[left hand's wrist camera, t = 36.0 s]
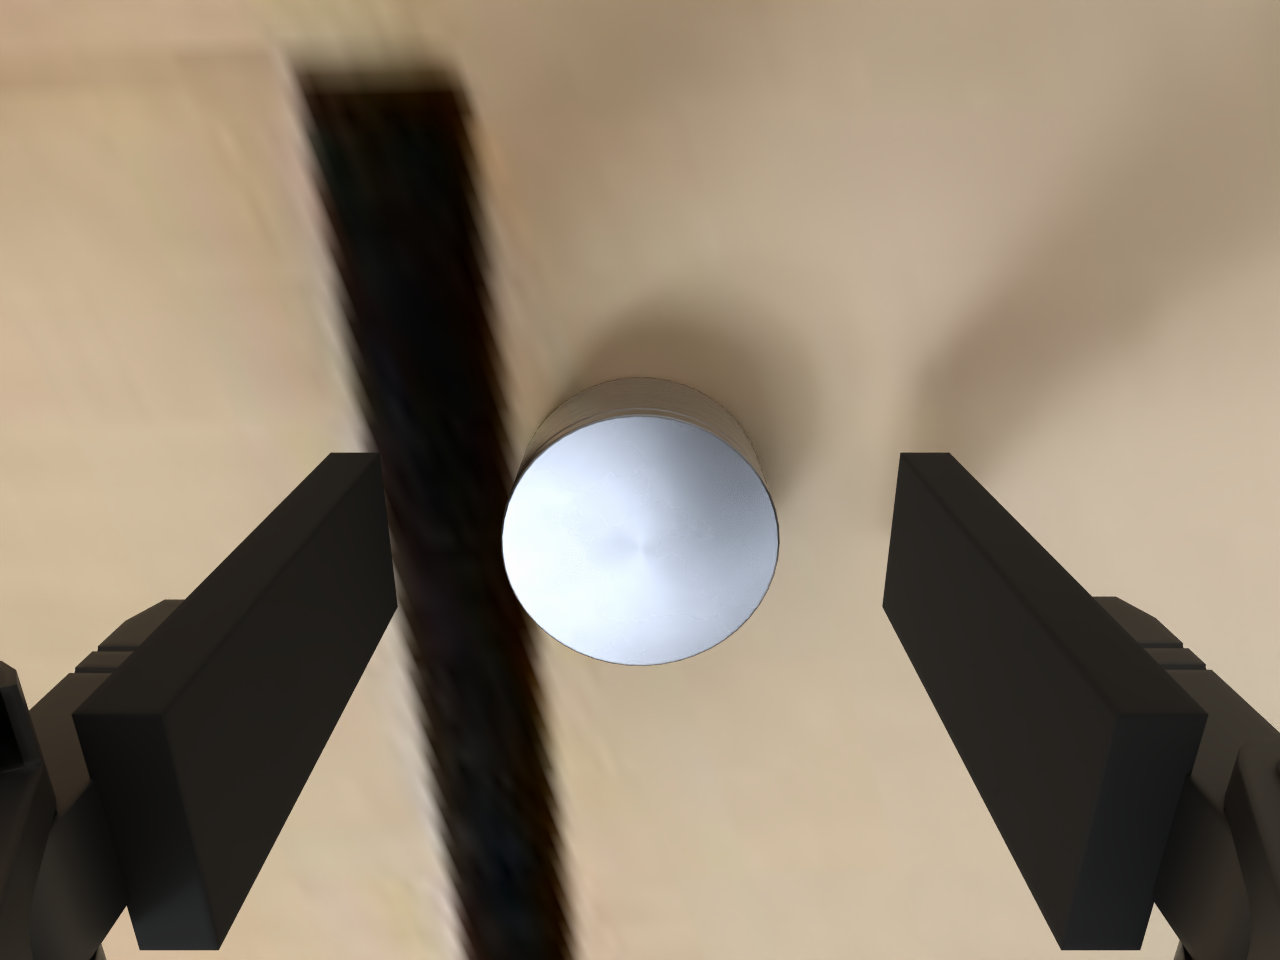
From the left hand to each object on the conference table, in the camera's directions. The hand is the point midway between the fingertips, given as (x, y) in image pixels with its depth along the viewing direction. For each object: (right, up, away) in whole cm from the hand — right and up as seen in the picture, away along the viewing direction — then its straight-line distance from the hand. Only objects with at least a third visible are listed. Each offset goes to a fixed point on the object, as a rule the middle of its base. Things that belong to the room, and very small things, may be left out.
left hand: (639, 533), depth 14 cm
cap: (0, 0, 0) cm, 0 cm away
